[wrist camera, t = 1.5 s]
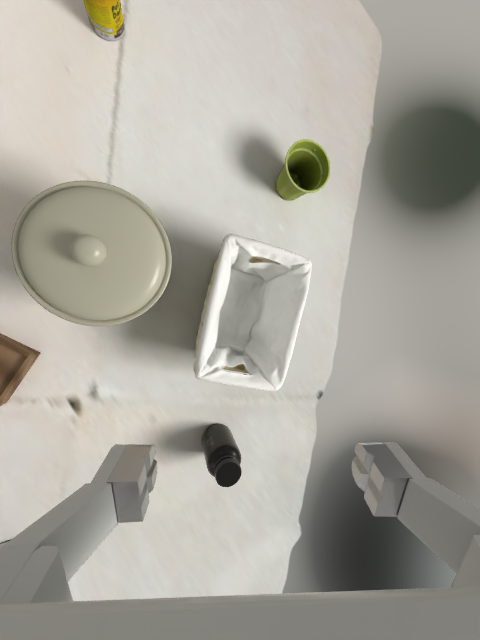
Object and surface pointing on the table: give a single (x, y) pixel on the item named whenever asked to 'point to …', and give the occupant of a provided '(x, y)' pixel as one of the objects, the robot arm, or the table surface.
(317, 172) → the plant pot
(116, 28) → the supplement bottle
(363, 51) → the table surface
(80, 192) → the canister
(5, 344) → the walnut tray
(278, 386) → the storage basket
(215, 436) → the supplement bottle
